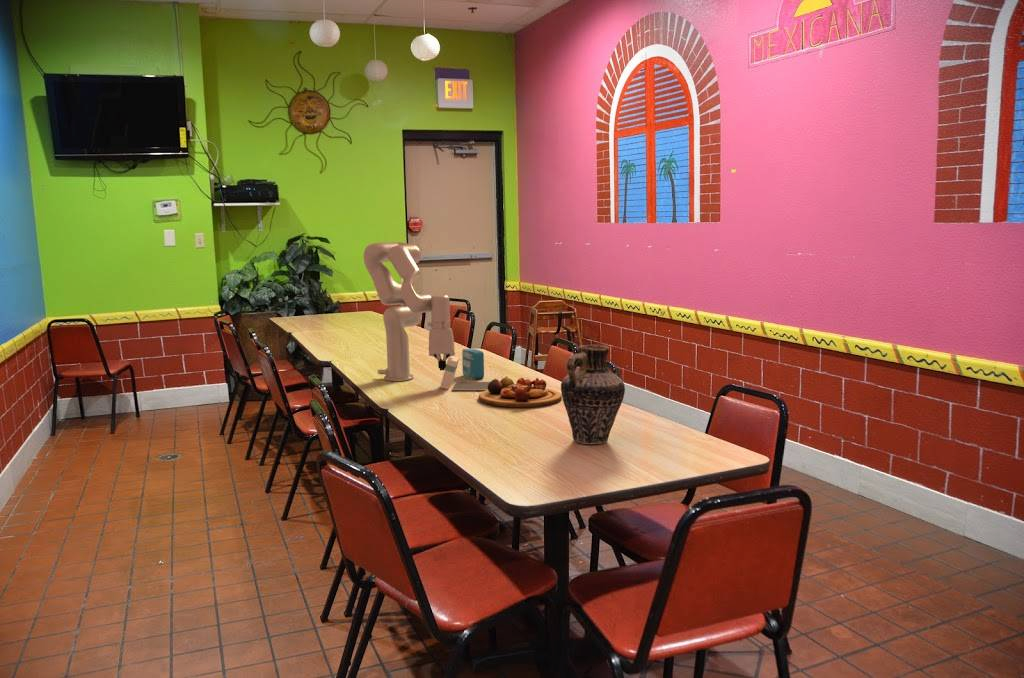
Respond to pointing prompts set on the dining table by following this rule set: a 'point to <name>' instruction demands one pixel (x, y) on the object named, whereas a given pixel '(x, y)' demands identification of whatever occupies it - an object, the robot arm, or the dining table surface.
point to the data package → (473, 363)
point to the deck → (449, 372)
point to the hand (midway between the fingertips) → (442, 369)
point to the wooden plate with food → (519, 393)
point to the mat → (470, 386)
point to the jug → (591, 395)
